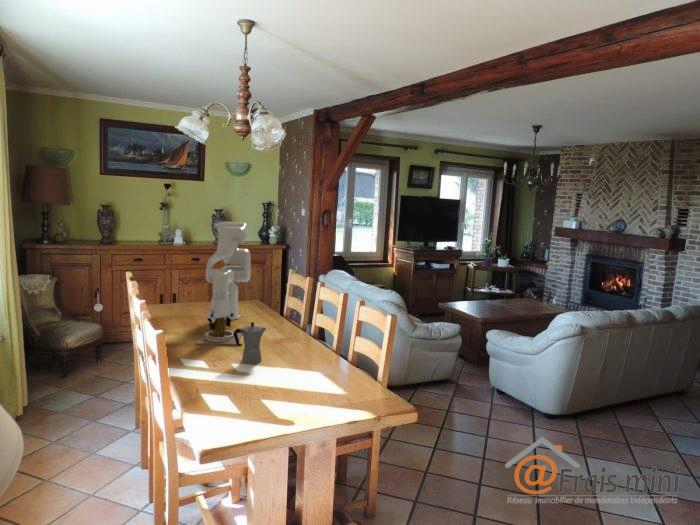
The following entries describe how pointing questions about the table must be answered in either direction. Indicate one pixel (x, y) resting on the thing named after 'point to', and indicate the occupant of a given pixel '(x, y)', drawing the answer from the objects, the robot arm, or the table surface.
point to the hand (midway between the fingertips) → (220, 327)
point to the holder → (218, 339)
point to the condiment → (219, 328)
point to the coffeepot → (250, 342)
